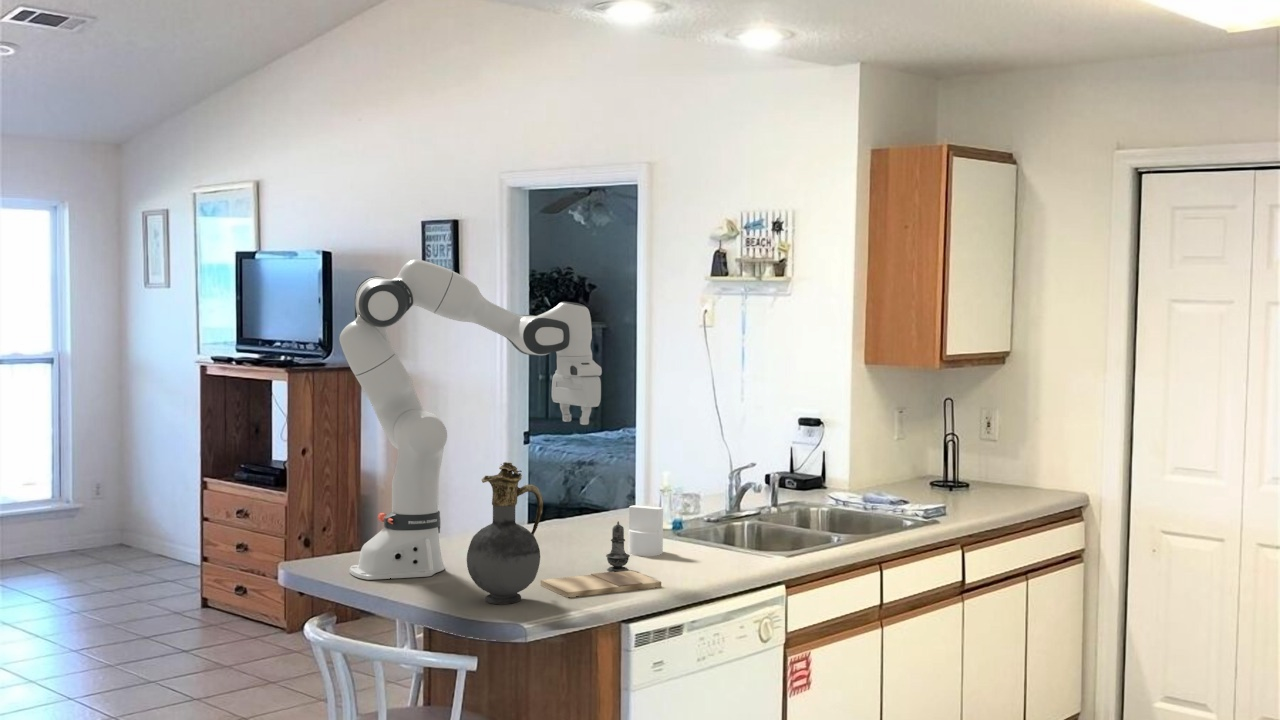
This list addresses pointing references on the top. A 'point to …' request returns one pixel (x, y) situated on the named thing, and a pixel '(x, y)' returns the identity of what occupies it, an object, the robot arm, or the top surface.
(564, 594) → the plywood board
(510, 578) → the pitcher
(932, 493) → the top surface
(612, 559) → the salt shaker
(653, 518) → the white canister
